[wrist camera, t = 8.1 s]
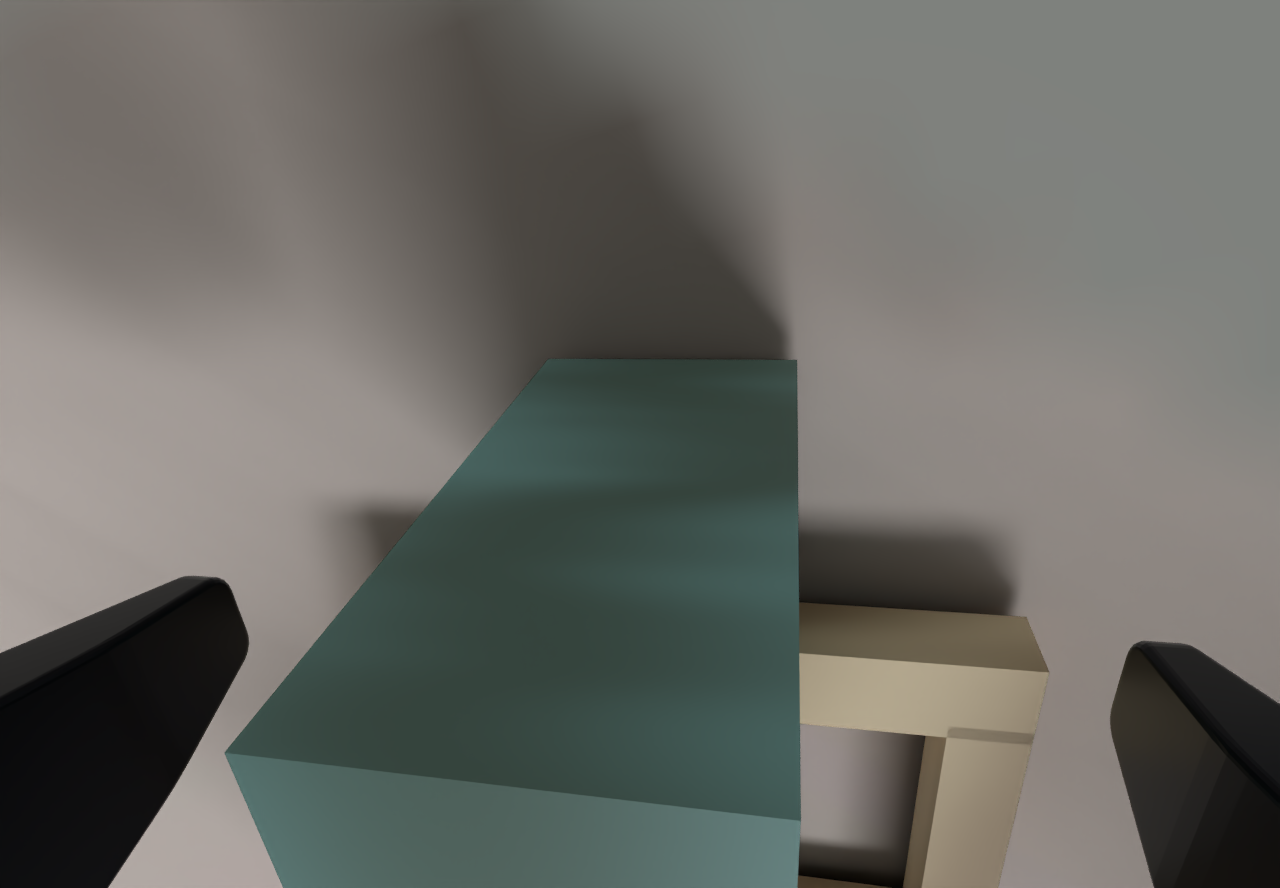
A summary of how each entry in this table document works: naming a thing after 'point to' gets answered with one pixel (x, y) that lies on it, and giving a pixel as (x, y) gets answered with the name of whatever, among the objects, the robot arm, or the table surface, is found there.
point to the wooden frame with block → (624, 666)
